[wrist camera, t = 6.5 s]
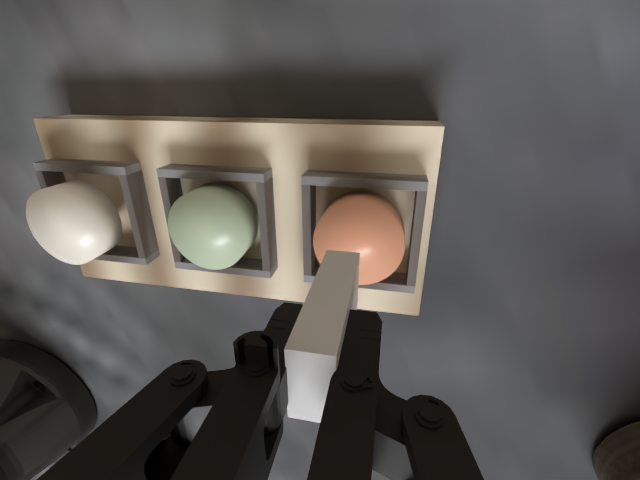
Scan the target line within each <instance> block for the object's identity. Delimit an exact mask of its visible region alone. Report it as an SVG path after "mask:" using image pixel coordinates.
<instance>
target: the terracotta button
mask: <svg viewBox="0 0 640 480" xmlns="http://www.w3.org/2000/svg"><path fill="white" fill-rule="evenodd" d="M313 247H314V251H315V254H316V257H317V259H318V261H319V263H320V264H321V262H322V260H323V257H324V255H325V253H326V250H334V251H346V252H357V253H360V262H359V282H358V285H368V284H373V283H377V282H379V281H382V280H384V279H385V278H387V277H389V276H390V275H391V274H392V273H393V272H394V271H395V270H396V269H397V268H398V266H399V265H400V263H401V261H402V258H403V255H404V250H405V233H404V223H403V219H402V217H401V215H400V213H399V211H398V209H397V208H396V207H395V206H394V205H393V204H392V203H391V202H390V201H389V200H388V199H386V198H385V197H383V196H381V195H379V194H376V193H373V192H369V191H353V192H349V193H346V194H343V195H341V196H339V197H338V198H336V199H335V200H334V201H332V202H331V203H330V204H329V206H328V207H327V208H326V210H325V211H324V213H323V215H322V217H321V218H320V220H319V222H318V224H317V226H316V228H315V231H314V236H313Z"/></svg>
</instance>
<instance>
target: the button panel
mask: <svg viewBox="0 0 640 480" xmlns="http://www.w3.org/2000/svg"><path fill="white" fill-rule="evenodd" d="M33 120H34V123H35V126H36V129H37V133H38V136H39V139H40V142H41V145H42V148H43V151H44V154H45V157H46V160H43V161H39V162H34V163H33V166H34V169H35V172H36V175H37V177H38V180H39V183H40V186H41V189H44V188H47V187H51V186H54V185H57V184H61V183H64V182H67V181H72V180H80V181H84V182H88V183H90V184H92V185H94V186H96V187H97V188H99V189H100V190H101V191H103V192H104V193H105V194H106V195H107V196H108V197H109V198H110V200H111V201H112V202H113V204H114V205H115V207H116V209H117V211H118V213H119V215H120V218H121V223H122V235H121V238H120V241H119V242H118V244H117V245H116V246H115V247H113V248H112V249H110V250H109V251H107V252H105V253H103V254H102V255H100V256H98V257H96V258H95V259H93V260H91V261H90V262H87V263H85V264H80V267H81V270H82V273H83V276H85V277H94V278H102V279H110V280H119V281H127V282H136V283H144V284H153V285H161V286H170V287H178V288H187V289H195V290H204V291H212V292H221V293H229V294H238V295H246V296H255V297H263V298H272V299H280V300H289V301H297V302H305V299H306V297H307V295H308V292H309V290H310V288H311V285H312V283H313V281H314V278H315V276H316V274H317V271H318V269H319V267H320V263H319V261H318V259H317V257H316V254H315V251H314V247H313V236H314V231H315V228H316V226H317V224H318V222H319V220H320V218H321V217H322V215H323V213H324V211H325V210H326V208H327V207H328V206H329V204H330V203H331V202H332V201H334V200H335V199H336V198H338V197H339V196H341V195H343V194H346V193H349V192H353V191H369V192H373V193H376V194H379V195H381V196H383V197H385V198H386V199H388V200H389V201H390V202H391V203H392V204H393V205H394V206H395V207H396V208H397V209H398V211H399V213H400V215H401V217H402V219H403V223H404V233H405V250H404V255H403V258H402V261H401V263H400V265H399V266H398V268H397V269H396V270H395V271H394V272H393V273H392V274H391V275H390V276H389V277H387V278H385V279H384V280H382V281H379V282H377V283H373V284H368V285H358V302H357V309H365V310H373V311H382V312H390V313H399V314H407V315H416V316H419V309H420V302H421V295H422V288H423V280H424V273H425V266H426V258H427V251H428V244H429V237H430V229H431V222H432V215H433V207H434V200H435V193H436V185H437V178H438V171H439V164H440V156H441V149H442V142H443V134H444V126H443V125H442V124H441V122H440V121H417V120H358V119H300V118H242V117H184V116H126V115H61V116H51V117H41V118H33ZM208 183H222V184H226V185H229V186H231V187H233V188H235V189H237V190H238V191H240V192H241V193H242V194H243V195H244V196H245V197H246V198H247V199H248V200H249V201H250V203H251V204H252V206H253V208H254V210H255V212H256V215H257V218H258V234H257V237H256V240H255V242H254V243H253V245H252V246H251V247H250V248H249V249H248V250H247V251H246V253H245V254H244V255H243V256H242V257H241V258H240V259H239V260H238V261H237V262H236V263H235V264H234V265H232V266H230V267H228V268H225V269H219V270H212V269H206V268H203V267H200V266H198V265H196V264H194V263H192V262H191V261H189V260H188V259H187V258H185V257H184V256H183V255H182V254H181V253H180V252H179V250H178V249H177V248H176V246H175V245H174V243H173V241H172V239H171V236H170V233H169V229H168V215H169V211H170V209H171V207H172V205H173V204H174V202H175V201H176V200H177V199H178V198H180V197H181V196H183V195H185V194H187V193H188V192H190V191H192V190H194V189H196V188H198V187H200V186H202V185H204V184H208Z"/></svg>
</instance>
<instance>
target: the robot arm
mask: <svg viewBox="0 0 640 480" xmlns="http://www.w3.org/2000/svg"><path fill="white" fill-rule="evenodd" d="M359 262H360V253H357V252H346V251H334V250H326V253H325V255H324V257H323V260H322V262H321V264H320V267H319V269H318V271H317V274H316V276H315V278H314V281H313V283H312V285H311V288H310V290H309V292H308V295H307V297H306V299H305V302H304V304H303V305H302V304H293V303H283V304H282V305H281V306H279V307H278V308H277V309H276V310H275V311H274V313H273V315H272V317H271V319H270V320H269V322H268V324H267V327H266V328H265V330H264V331H252V332H248V333H245V334H243V335H241V336H239V337H238V338H237V339H236V340H235V341H234V342H233V345H234V353H235V361H236V365H235V367H234V368H231V369H226V370H218V371H209V372H207V369H206V367H205V365H204V364H203V363H201V362H200V361H196V360H183V361H180V362H177V363H175V364H173V365H171V366H170V367H168V368H167V369H165V370H164V371H163V372H162V373H161V374H159V375H158V376H157V377H156V378H155V379H154V380H152V381H151V382H150V383H149V384H148V385H147V386H145V387H144V388H143V389H142V390H141V391H140V392H138V393H137V394H136V395H135V396H134V397H133V398H131V399H130V400H129V401H128V402H127V403H126V404H124V405H123V406H122V407H121V408H120V409H119V410H117V411H116V412H115V413H114V414H113V415H112V416H110V417H109V418H108V419H107V420H106V421H105V422H103V423H102V424H101V425H100V426H99V427H98V428H96V429H95V430H94V431H93V432H92V433H91V434H89V433H90V432H91V431H92V430H93V428H94V427H95V424H96V420H97V412H96V407H95V404H94V401H93V399H92V397H91V395H90V393H89V392H88V390H87V389H86V387H85V386H84V384H83V383H82V382H81V381H80V380H79V378H78V377H77V376H76V375H75V374H74V373H73V372H72V371H71V370H70V369H69V368H67V367H66V366H65V365H64V364H63V363H61V362H60V361H59V360H57V359H56V358H54V357H53V356H51V355H49V354H48V353H46V352H44V351H42V350H40V349H38V348H36V347H34V346H31V345H28V344H25V343H21V342H17V341H0V480H30V479H31V478H32V477H34V476H35V475H37V474H38V473H40V472H41V471H42V470H44V469H45V468H46V467H48V466H49V465H50V464H51V463H53V462H54V461H55V460H56V459H58V458H59V457H60V456H61V455H65V454H66V455H65V456H64V457H63V458H61V459H60V460H59V461H58V462H57V463H56V464H54V465H53V466H52V467H51V468H50V469H49V470H47V471H46V472H45V473H44V474H43V475H42V476H40V477H39V478H38V479H37V480H268V476H269V473H270V470H271V467H272V464H273V461H274V458H275V455H276V452H277V449H278V446H279V443H280V440H281V437H282V434H283V417H284V414H285V411H286V408H287V411H288V417H290V418H296V419H301V420H307V421H313V422H318V423H320V427H319V431H318V435H317V440H316V444H315V448H314V452H313V457H312V461H311V465H310V470H309V474H308V478H307V480H371V474H372V469H373V470H374V471H376V472H378V473H380V474H381V475H383V476H385V477H387V478H389V479H390V480H484V479H483V476H482V474H481V472H480V470H479V468H478V465H477V463H476V461H475V459H474V456H473V454H472V452H471V450H470V447H469V445H468V443H467V441H466V438H465V436H464V434H463V432H462V430H461V427H460V425H459V423H458V421H457V418H456V416H455V414H454V413H453V411H452V410H451V408H450V407H449V406H448V405H446V404H445V403H444V402H443V401H441V400H439V399H437V398H435V397H432V396H427V395H418V396H413V397H411V398H410V399H408V400H407V401H406V400H404V399H402V398H400V397H397V396H396V395H394V394H392V393H390V392H389V391H388V390H387V389H386V388H385V387H384V386H383V384H382V383H381V381H380V379H379V358H380V343H381V329H382V321H381V319H380V317H379V315H378V314H377V312H369V311H360V310H356V309H357V302H358V282H359ZM88 434H89V435H88ZM87 435H88V436H87ZM86 436H87V437H86Z"/></svg>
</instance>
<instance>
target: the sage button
mask: <svg viewBox="0 0 640 480" xmlns="http://www.w3.org/2000/svg"><path fill="white" fill-rule="evenodd" d="M168 229H169V233H170V236H171V239H172V241H173V243H174V245H175V246H176V248H177V249H178V250H179V252H180V253H181V254H182V255H183V256H184V257H185V258H187V259H188V260H189V261H191V262H192V263H194V264H196V265H198V266H200V267H203V268H206V269H212V270H219V269H225V268H228V267H230V266H232V265H234V264H235V263H236V262H237V261H238V260H239V259H240V258H241V257H242V256H243V255H244V254H245V253H246V251H247V250H248V249H249V248H250V247H251V246H252V245H253V243H254V242H255V240H256V237H257V234H258V218H257V215H256V212H255V210H254V208H253V206H252V204H251V203H250V201H249V200H248V199H247V198H246V197H245V196H244V195H243V194H242V193H241V192H240V191H238V190H237V189H235V188H233V187H231V186H229V185H226V184H222V183H208V184H204V185H202V186H200V187H198V188H196V189H194V190H192V191H190V192H188V193H187V194H185V195H183V196H181V197H180V198H178V199H177V200H176V201H175V202H174V204H173V205H172V207H171V209H170V211H169V215H168Z"/></svg>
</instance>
